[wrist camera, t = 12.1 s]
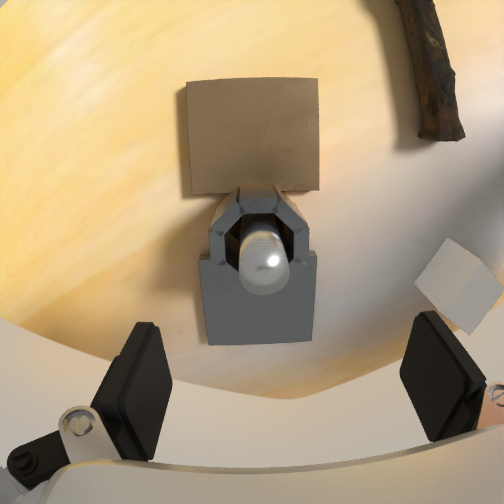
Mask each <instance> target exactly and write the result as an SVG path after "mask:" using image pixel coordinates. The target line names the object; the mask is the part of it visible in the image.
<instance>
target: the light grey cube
mask: <svg viewBox="0 0 504 504" xmlns="http://www.w3.org/2000/svg"><path fill="white" fill-rule="evenodd" d="M414 285H415V286H416V287H417V288H418V289H419V290H420V291H421V292H422V293H423V294H424V295H425V296H426V297H427V298H428V300H429V301H430V302H431V303H432V304H433V305H434V306H435V307H436V308H437V309H438V311H439V312H440V313H441V314H443V315H444V316H445V317H446V318H448V319H449V320H450V321H452V322H453V323H454V324H455V325H457V326H458V327H459V328H460V329H462V330H463V331H464V332H466V333H467V334H468V335H470V334H471V333H472V332H473V331H474V329H475V328H476V327H477V326H478V324H479V323H480V322H481V321H482V319H483V318H484V317H485V315H486V314H487V313H488V312H489V310H490V309H491V308H492V306H493V305H494V304H495V302H496V301H497V299H498V298H499V297H500V295H501V294H502V292H503V291H504V287H503V285H502V284H501V283H500V282H499V281H498V279H497V278H496V277H495V276H494V274H493V273H492V272H491V271H490V270H489V269H488V267H487V266H486V265H485V264H484V263H483V262H482V260H481V259H479V258H478V257H476V256H475V255H473V254H472V253H471V252H469V251H468V250H466V249H465V248H463V247H462V246H460V245H459V244H457V243H456V242H454V241H453V240H451V239H450V238H448V237H447V238H446V239H445V241H444V242H443V244H442V245H441V246H440V248H439V249H438V251H437V252H436V254H435V255H434V256H433V258H432V259H431V260H430V262H429V263H428V265H427V266H426V267H425V269H424V270H423V271H422V273H421V274H420V275H419V277H418V278H417V279H416V280H415V282H414Z"/></svg>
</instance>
